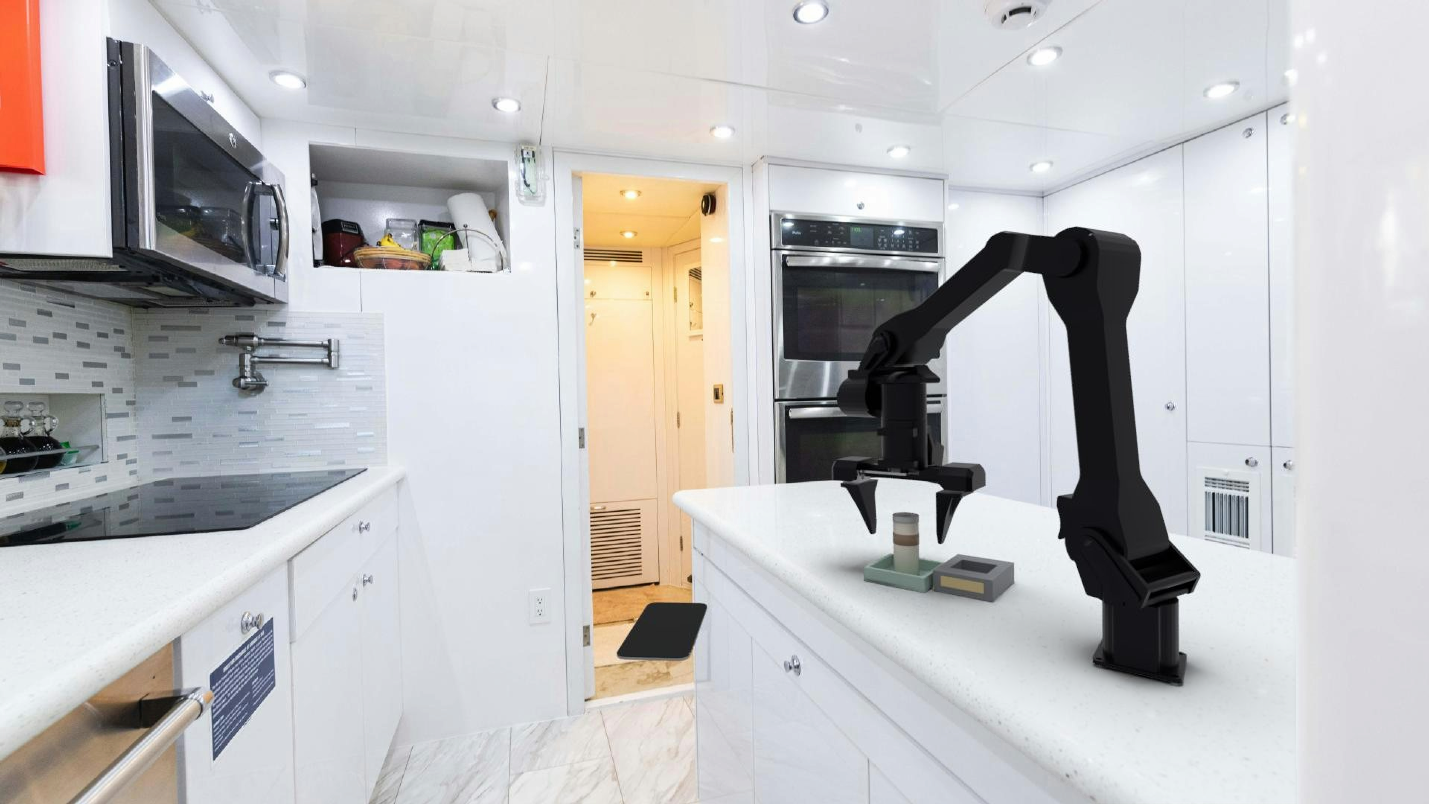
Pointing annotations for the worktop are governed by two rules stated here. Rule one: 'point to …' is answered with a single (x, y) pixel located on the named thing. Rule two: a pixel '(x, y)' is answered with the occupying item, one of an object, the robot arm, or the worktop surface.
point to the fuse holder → (974, 577)
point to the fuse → (906, 542)
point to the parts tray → (901, 574)
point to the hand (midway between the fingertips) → (905, 538)
